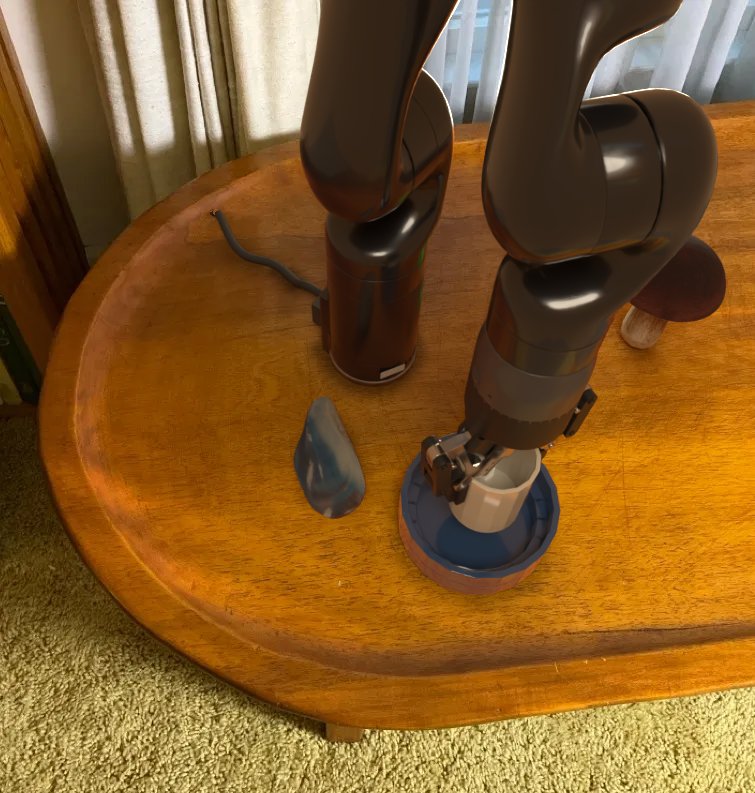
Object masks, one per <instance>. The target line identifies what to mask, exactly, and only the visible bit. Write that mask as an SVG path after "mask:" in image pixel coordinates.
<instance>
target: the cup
mask: <svg viewBox="0 0 755 793" xmlns="http://www.w3.org/2000/svg"><path fill="white" fill-rule="evenodd" d="M479 458H480V459H481V461H483V460H484V459H485V458H483V457H480V456H479ZM541 462H542V461H541V454H540V451H539V448H537V449H531V450H515V451H514V452H513V453H512V454H511V455H510V456H509V457H505V458H502V459H501V460H500V461H499V462H498V464H497V465H496V466H495V467H494V468H493V469H492V470H491V471H490V472H489V473H488V474H487V475H485V476H481V477H476V478H475V479H474V480H473V481H472V482H471V483H470V484H469V488H468V492H467V495H466V498H465V502H463V503H461V504H459V505H455V504H454V502H450V503H449V506H450V509H451V511H452V513H453V514H454V516H455V517H456V518H457V520H458V521H459V522H461V523H462V524H463V525H464V526H466V527H468V528H469V529H472V530H474V531H477V532H483V533H493V532H498V531H501V530H503V529H505V528H507V527H508V526H510V525H511V524H512V523H513V522H514V521H515V519H516V518H517V516H518V514H519V513H520V511H521V509H522V507H523V505H524V503H525V501H526V499H527V497H528V494H529V492H530V490H531V488H532V486H533V484H534V482H535V480H536V477H537V475H538V473H539V471H540V464H541ZM457 464H458V465H459V467H460V469H461V470H462V472H463V473H464V472H465V467H464V465H463V463H462V462H461V460H460V461H459V462H458V463H457Z"/></svg>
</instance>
